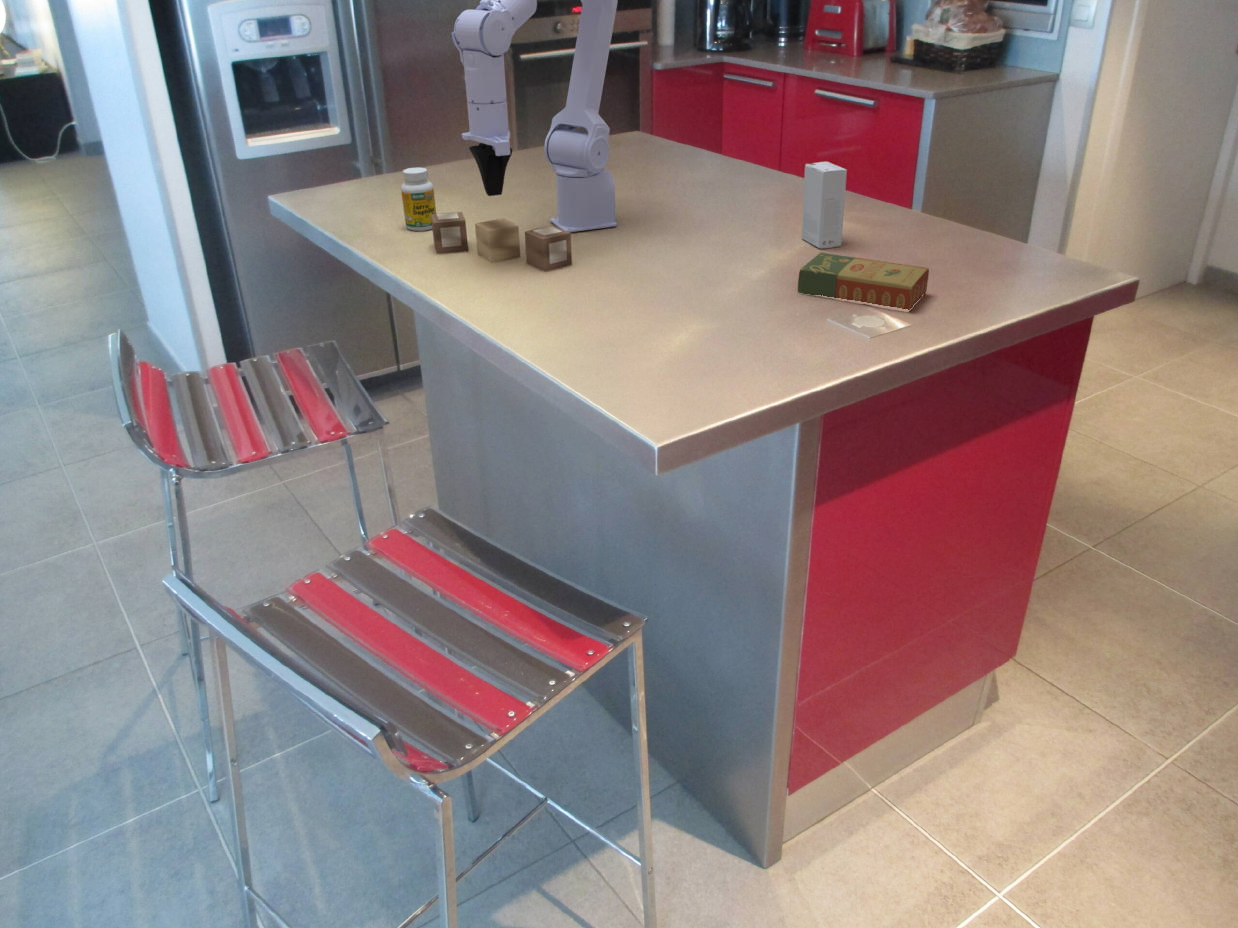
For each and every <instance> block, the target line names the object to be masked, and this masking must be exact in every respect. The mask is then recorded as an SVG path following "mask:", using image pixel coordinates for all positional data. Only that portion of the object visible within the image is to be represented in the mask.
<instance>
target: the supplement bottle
mask: <svg viewBox="0 0 1238 928" xmlns="http://www.w3.org/2000/svg"><path fill="white" fill-rule="evenodd" d="M402 178H403V180H404V181H405V182H403V183H402V184H401V186H400V192H401V198H402V206H403V213H404V215H403V216H404V221H405V228H407V230H409V231H413V232H426V231H431V230H432V221H431V214H437V208H436V199H435V190H434V184H433V183H432V182H431V181H429V180H428V179H429V176H428V169H427V168H425V167H408V168H406V169H403V170H402Z"/></svg>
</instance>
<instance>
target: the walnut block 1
mask: <svg viewBox="0 0 1238 928" xmlns="http://www.w3.org/2000/svg"><path fill="white" fill-rule="evenodd" d="M431 221H432V229H431V230H432V236H433V237H432V238H433V245H434V250H435V252H436V254H447V253H460V252H469V245H468V244H469V243H468V235H467V226H466V225H467V224H466V223H467V222H466V218H465V216H464V213H463V211H455V212H442V213H441V212H440V213H436V214H431Z"/></svg>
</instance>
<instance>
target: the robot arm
mask: <svg viewBox="0 0 1238 928" xmlns="http://www.w3.org/2000/svg"><path fill="white" fill-rule="evenodd" d="M618 1H619V0H580V2H581V4H582V5H581V12H580V17H579V24H578V30H577V34H576V35H577V36H576V42H575V47H574V48H575V49H574V54H573V60H572V67H571V73H570V80H569V84H568V85H569V86H568V90H567V97H566V103H565V107H564V108H563V109H562V110H561V111H559V112H558V113H556V114H555V115H554V116H553V117H552V118H551V124H550V128H549V131H548V133H547V135H546V137H545V140H544V144H543V145H544V146H543V148H544V149H543V150H544V151H543V152H544V156H545V159H546V161H547V162H548V164H549V165H551V168H552V169H551V170H552V172H555V183H556V184H555V185H556V201H557V203H556V206H557V216H556V217H550V222H551V223H552V224H553V225H554V226H555V227H558V228H560V229H562V230H565V231H567V232H570V233H575V232H582V231H583V232H584V231H589V230H598V229H604V228H605V229H606V228H613V227H617V226H618V223H617V221H616V188H615V187H616V185H615V181H614V177H613V174H612V172H611V171H610V170H609V169H608V168H605V167H606V165H607V163H608V161H609V158H610V143H609V142H610V141H609V139H610V137H609V135H610V131H611V128H610V126H608V125H609V124H607V123H606V121H605V120H604V119H603V118H602V117H601V115H600V114H599V111H600V106H601V101H602V95H603V88H604V83H605V76H606V71H607V66H608V59H609V53H610V48H611V42H612V36H613V31H614V25H615V19H616V13H617V8H618ZM537 6H538V2H537V0H480V1H479V5H478V6H477V7H476V8H475V9H466V10H464V11H462V12H461V13H460V14H459V16H457V18H456V20H455V22H454V27H453V32H451V38H452V42H453V43H454V46H455V47H456V49H457V50H458V52H459V56H460V63H461V65H463V67H464V83H465V91H466V92H465V93H466V104H467V105H466V106H467V114H468V115H467V116H468V126H469V127H468V128H469V131H468V132H462V133H461V138H462V139H463V140H464V141H473V142H477V143H478V145H471V146H469V151H470V153H471V155H472V156H473V158H474V161H475V163H476V165H477V168H478V169H479V173H480V177H481V181H482V184H483V189H484V191H485V193H486V195H487V196H488V197H491V196H493V197H494V196H501V195H502V193H503V190H504V183H505V175H506V170H507V166H508V165H509V164H508V163H509V162H510V161H509V160H510V158H511V156H512V154H513V148H511V146H510V139H511V130H509V117H508V115H509V114H508V113H509V112H508V102H507V101H508V100H507V89H506V88H507V87H506V85H507V84H506V73H505V72H506V71H505V56H504V54H505V53H507V52H508V50H509V49H510V47H511V43H512V38H513V37H514V35H515V34H516V31H517V30H518V29H520V27H521V26H523V25H524V24H525V22H527V21H528V20H529V19H530V18H531V17H532V16H533V15H534V14H535V13H536V11H537V8H538V7H537ZM575 129H580V130H575ZM581 129H583V130H586V131H583V130H581Z"/></svg>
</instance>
